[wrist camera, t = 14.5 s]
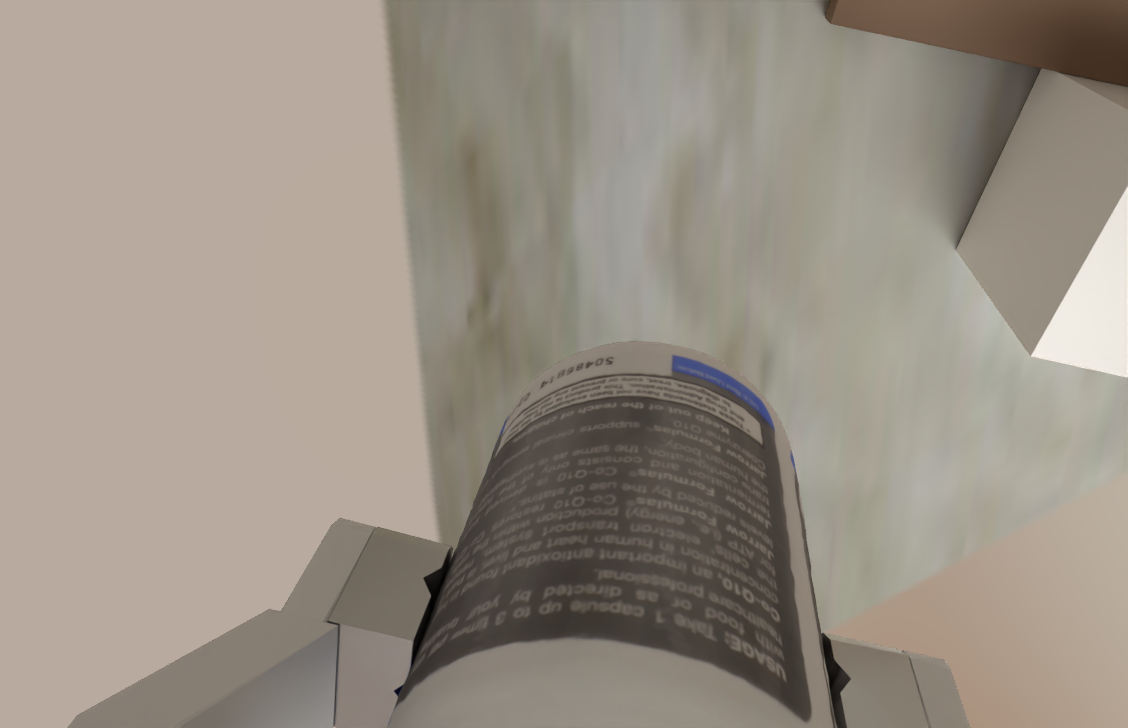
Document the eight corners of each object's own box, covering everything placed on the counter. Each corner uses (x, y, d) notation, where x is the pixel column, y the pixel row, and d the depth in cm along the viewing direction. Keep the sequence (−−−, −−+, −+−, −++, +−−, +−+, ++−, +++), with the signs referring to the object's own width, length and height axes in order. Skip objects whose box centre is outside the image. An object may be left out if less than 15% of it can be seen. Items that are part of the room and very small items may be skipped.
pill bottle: (446, 416, 13) (139, 1017, 6) (694, 278, 12) (669, 909, 4) (606, 604, 15) (508, 1260, 8) (847, 510, 13) (1017, 1258, 6)
